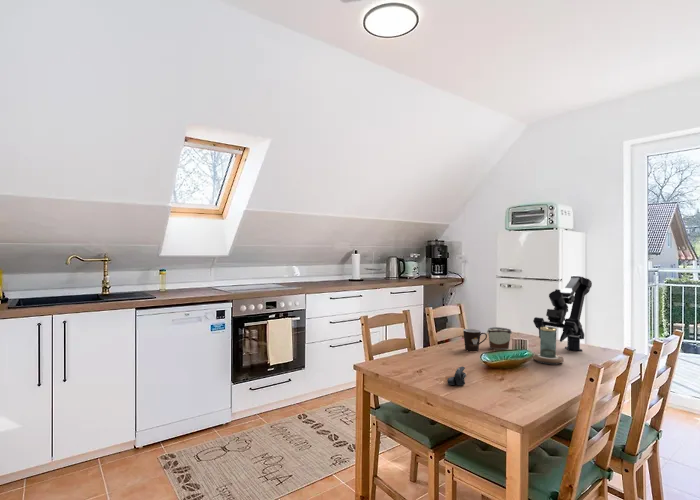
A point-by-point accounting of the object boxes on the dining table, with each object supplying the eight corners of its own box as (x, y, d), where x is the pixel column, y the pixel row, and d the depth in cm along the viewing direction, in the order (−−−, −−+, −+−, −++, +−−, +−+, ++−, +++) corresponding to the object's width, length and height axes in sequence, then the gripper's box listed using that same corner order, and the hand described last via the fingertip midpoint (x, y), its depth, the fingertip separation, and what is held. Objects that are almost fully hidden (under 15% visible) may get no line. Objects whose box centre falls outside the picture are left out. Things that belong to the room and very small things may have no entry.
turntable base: (533, 358, 200) (533, 356, 200) (555, 359, 199) (555, 357, 199) (539, 363, 190) (539, 362, 190) (563, 365, 189) (563, 363, 189)
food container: (508, 346, 223) (508, 327, 223) (511, 349, 217) (511, 329, 217) (484, 345, 224) (484, 326, 224) (487, 348, 218) (487, 329, 218)
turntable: (529, 354, 202) (529, 351, 202) (557, 356, 200) (557, 353, 200) (537, 362, 189) (537, 359, 189) (568, 363, 187) (568, 360, 187)
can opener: (464, 389, 156) (464, 374, 156) (445, 386, 159) (445, 371, 159) (472, 376, 172) (472, 362, 172) (455, 373, 175) (455, 360, 175)
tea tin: (539, 353, 199) (540, 326, 199) (555, 355, 196) (556, 327, 196) (539, 357, 193) (540, 328, 192) (556, 358, 190) (556, 330, 190)
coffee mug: (462, 351, 211) (463, 331, 211) (463, 347, 219) (463, 328, 219) (487, 353, 208) (487, 333, 208) (486, 349, 216) (487, 329, 216)
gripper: (534, 300, 206) (524, 326, 198) (576, 304, 192) (567, 332, 185) (541, 314, 211) (531, 340, 204) (581, 319, 198) (573, 347, 191)
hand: (550, 339), depth 196 cm, fingers open, 9 cm apart
